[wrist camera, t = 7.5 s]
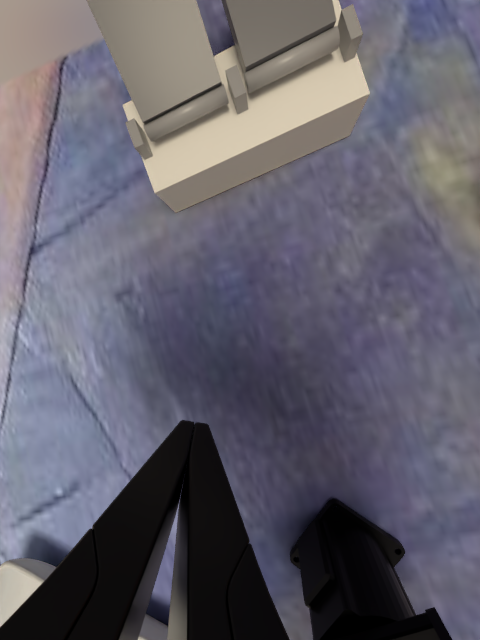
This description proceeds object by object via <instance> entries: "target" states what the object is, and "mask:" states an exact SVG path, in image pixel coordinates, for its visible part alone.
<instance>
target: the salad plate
mask: <svg viewBox="0 0 480 640" xmlns="http://www.w3.org/2000/svg"><path fill="white" fill-rule="evenodd" d="M55 568H56V567H55V566H53V565H50V564H48V563H45V562H42V561H39V560H35V559H30V558H19V559H12V560H8V561H6V562H4V563H3V564H2V565H1V566H0V627H1V626H2V625H3V624H4V623H5V622H6V621H7V620H8V619H9V618H10V616H11V615H12V614H13V613H14V612H15V611H16V610H17V609H18V608H19V607H20V606H21V605H22V604H23V603H24V602H25V601H26V600H27V599H28V598H29V596H30V595H31V594H32V593H33V592H34V591H35V590H36V589H37V588H38V587H39V586H40V585H41V584H42V583H43V582H44V581H45V580H46V579H47V577H48V576H49V575H50V574H51V573H52V572H53V571H54V569H55ZM167 636H168V626H167V625H165V624H163V623H162V622H160V621H158V620H156V619H155V618H153V617H151V616H149V615H147V614H145V618H144V621H143V624H142V628H141V631H140V634H139V638H138V640H167Z"/></svg>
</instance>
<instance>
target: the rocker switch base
mask: <svg viewBox="0 0 480 640" xmlns="http://www.w3.org/2000/svg"><path fill="white" fill-rule="evenodd" d="M332 1H333V6H334V11H335V16H336V23H335V25H334V27H335V26H337V27H338V29H339V34H340V43H339V47H338V49H337V50H336V51H334V52H332V53H330V54H328V55H326V56H324V57H322V58H320V59H318V60H316V61H314V62H312V63H310V64H308V65H306V66H304V67H302V68H300V69H298V70H296V71H294V72H292V73H290V74H288V75H286V76H284V77H282V78H280V79H278V80H276V81H274V82H272V83H270V84H268V85H266V86H264V87H262V88H260V89H258V90H256V91H254V92H251V93H248V91H247V87H246V84H245V79H244V73H243V70H242V66H241V63H240V60H239V57H238V53H237V50H236V47H235V45H234V46H232V47H230V48H228V49H227V50H225V51H223V52H221V53H219V54H217V55H215V56H214V59H215V63H216V66H217V69H218V72H219V75H220V79H221V83H222V84H224V86H225V89H226V93H227V96H228V100H229V104H227V105H225V106H223V107H221V108H219V109H217V110H215V111H213V112H211V113H209V114H207V115H205V116H203V117H201V118H199V119H197V120H195V121H193V122H191V123H189V124H187V125H185V126H183V127H181V128H179V129H177V130H175V131H173V132H171V133H169V134H167V135H165V136H163V137H161V138H159V139H157V140H155V141H153V142H151V141H150V139H149V138H148V136H147V134H146V132H145V130H144V127H143V124H144V123H143V122H142V120H141V118H140V116H139V114H138V112H137V109H136V107H135V105H134V103H133V101H132V100H131V101H129V102H127V103H125V104H124V105H123V108H124V110H125V113H126V116H127V118H128V122H126V126H127V128H128V131H129V134H130V137H131V139H132V142H133V145H134V147H135V149H136V150H137V151H138V152H139V154H140V155H141V157H142V159H143V162H144V165H145V168H146V170H147V173H148V176H149V178H150V181H151V184H152V187H153V189H154V192H155V194H156V195H157V196H158V197H160V198H161V199H162V200H163V201H164V202H165V203H166V204H167V205H168V206H169V207H170V208H171V209H172V210H173V211H174V212H175V213H177V212H179V211H181V210H184V209H186V208H188V207H190V206H193V205H195V204H197V203H199V202H202V201H204V200H206V199H208V198H211V197H213V196H215V195H217V194H220V193H222V192H224V191H226V190H229V189H231V188H233V187H235V186H238V185H240V184H242V183H244V182H247V181H249V180H251V179H253V178H256V177H258V176H260V175H262V174H265V173H267V172H269V171H271V170H274V169H276V168H278V167H280V166H283V165H285V164H287V163H289V162H292V161H294V160H296V159H298V158H301V157H303V156H305V155H307V154H310V153H312V152H314V151H316V150H319V149H321V148H323V147H325V146H328V145H330V144H332V143H334V142H337V141H339V140H341V139H343V138H346V137H348V136H350V134H351V132H352V130H353V128H354V126H355V123H356V121H357V119H358V117H359V115H360V113H361V111H362V109H363V107H364V105H365V103H366V101H367V98H368V96H369V94H370V92H369V89H368V86H367V83H366V80H365V77H364V74H363V71H362V68H361V65H360V62H359V59H358V57H357V54H356V52H357V50H358V47H359V44H360V41H361V38H362V35H363V33H362V30H361V27H360V24H359V21H358V18H357V15H356V12H355V9H354V6H353V4H352V5H350V6H348V7H346V8H345V9H343V10H342V9H341V6H340V3H339V0H332Z"/></svg>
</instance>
